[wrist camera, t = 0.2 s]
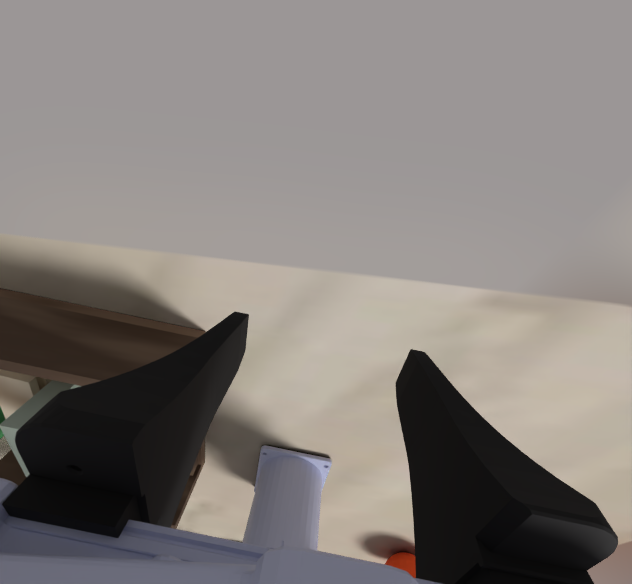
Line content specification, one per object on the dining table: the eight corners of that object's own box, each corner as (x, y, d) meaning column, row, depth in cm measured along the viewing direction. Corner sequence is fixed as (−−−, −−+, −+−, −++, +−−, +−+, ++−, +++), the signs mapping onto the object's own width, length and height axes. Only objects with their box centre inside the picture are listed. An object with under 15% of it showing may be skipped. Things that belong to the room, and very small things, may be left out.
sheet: (125, 434, 33) (65, 516, 26) (109, 431, 33) (44, 512, 26) (108, 353, 27) (25, 430, 20) (88, 349, 27) (-2, 425, 20)
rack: (204, 461, 36) (175, 530, 30) (41, 428, 36) (-22, 490, 29) (205, 331, 26) (161, 392, 20) (-20, 284, 26) (-133, 332, 20)
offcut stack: (67, 417, 32) (50, 434, 30) (27, 408, 32) (8, 425, 30) (43, 347, 27) (21, 362, 26) (-4, 337, 27) (-30, 352, 26)
